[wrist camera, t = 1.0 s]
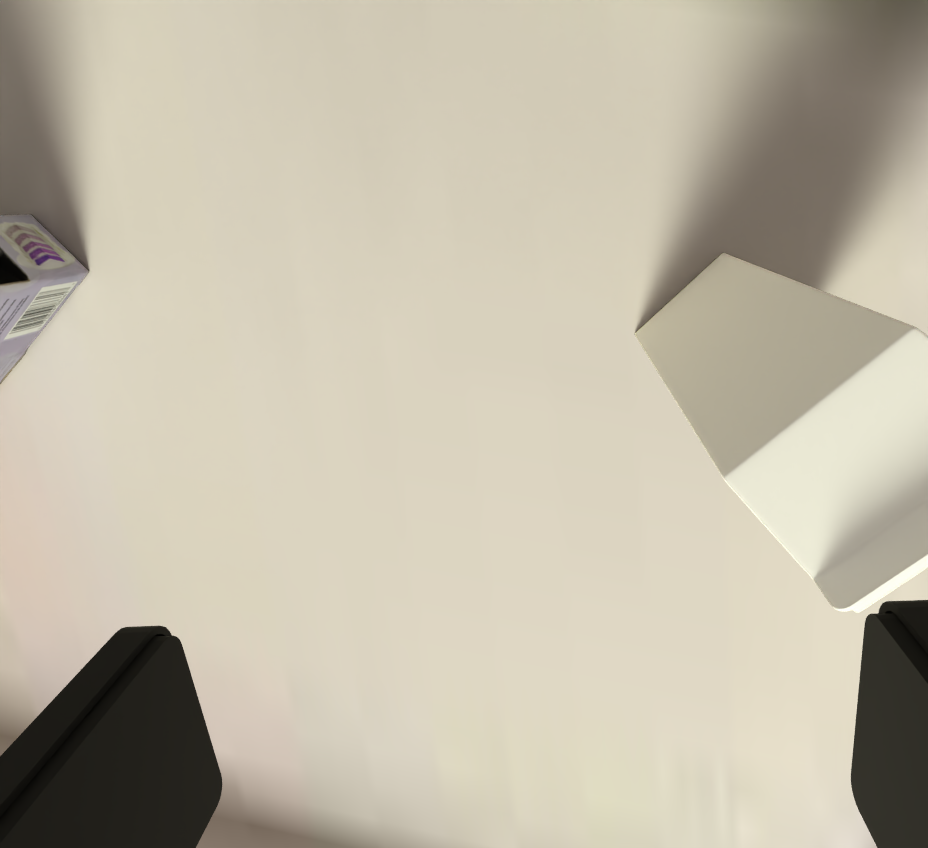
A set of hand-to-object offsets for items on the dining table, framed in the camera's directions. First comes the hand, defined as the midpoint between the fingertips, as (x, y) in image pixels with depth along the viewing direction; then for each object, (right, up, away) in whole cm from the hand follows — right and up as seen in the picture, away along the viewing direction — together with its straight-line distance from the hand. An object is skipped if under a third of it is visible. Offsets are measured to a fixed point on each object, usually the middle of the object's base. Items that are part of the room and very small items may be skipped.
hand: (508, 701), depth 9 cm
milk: (+13, +9, +27) cm, 31 cm away
